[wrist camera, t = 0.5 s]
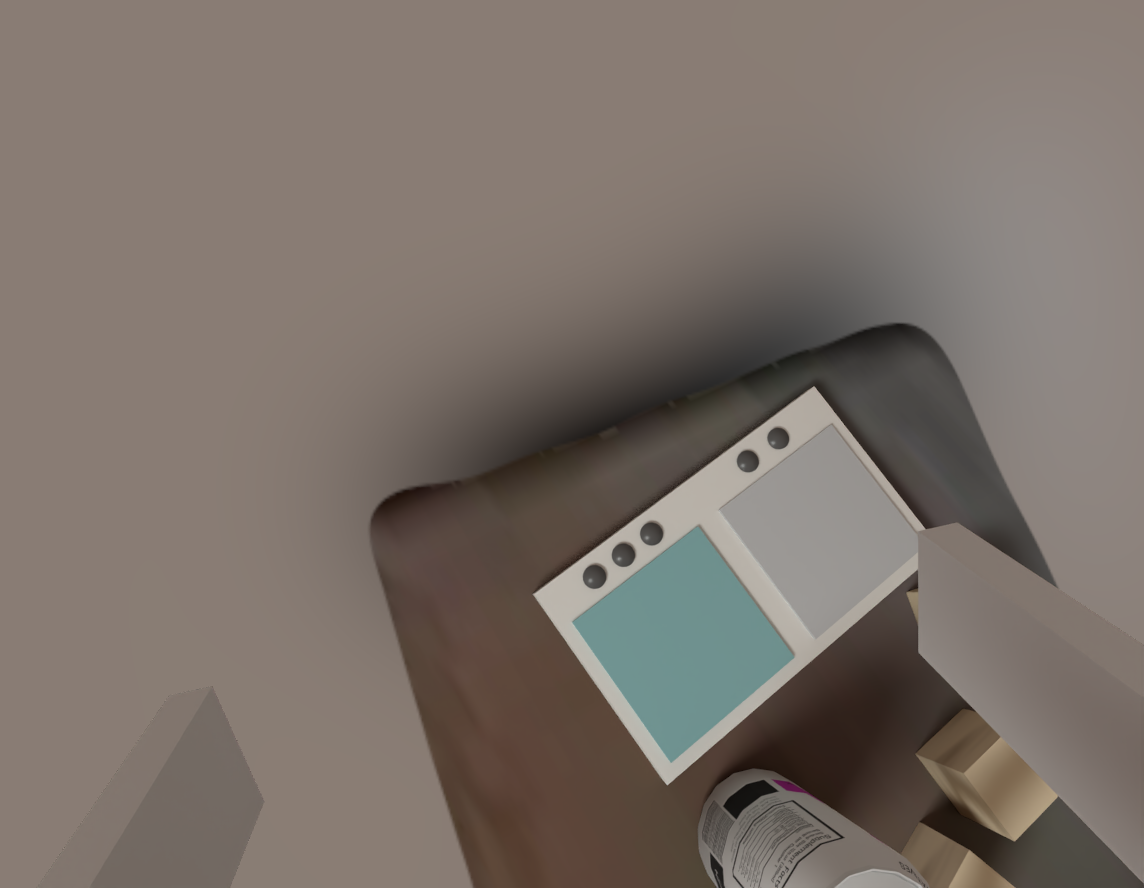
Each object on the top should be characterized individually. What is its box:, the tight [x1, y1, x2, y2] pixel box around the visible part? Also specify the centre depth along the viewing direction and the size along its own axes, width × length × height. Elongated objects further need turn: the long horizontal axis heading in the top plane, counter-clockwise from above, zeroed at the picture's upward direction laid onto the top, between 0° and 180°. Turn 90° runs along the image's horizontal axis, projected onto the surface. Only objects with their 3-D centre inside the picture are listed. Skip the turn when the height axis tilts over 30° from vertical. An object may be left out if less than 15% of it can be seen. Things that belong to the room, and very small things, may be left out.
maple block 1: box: [915, 709, 1058, 841], centre depth 45 cm, size 5×5×5 cm
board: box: [533, 387, 926, 785], centre depth 47 cm, size 15×26×2 cm, turn 126°
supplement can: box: [698, 768, 930, 888], centre depth 37 cm, size 8×8×15 cm
